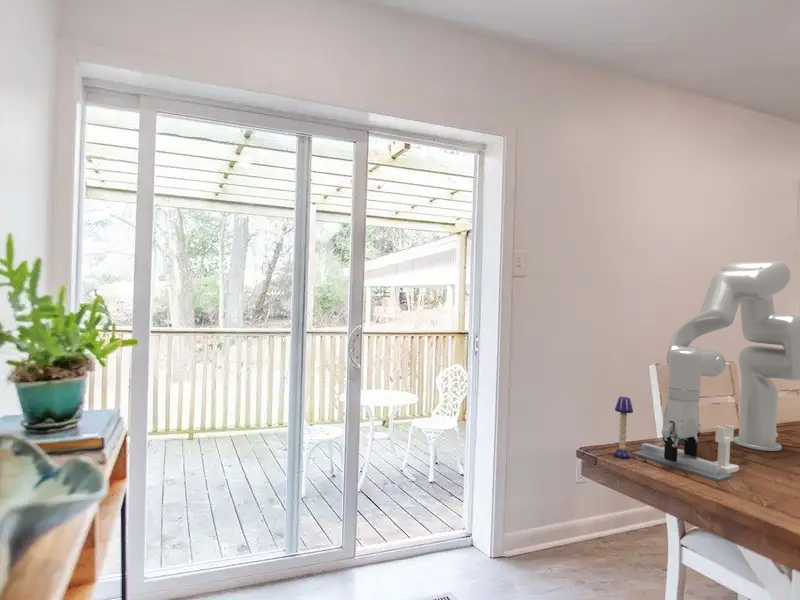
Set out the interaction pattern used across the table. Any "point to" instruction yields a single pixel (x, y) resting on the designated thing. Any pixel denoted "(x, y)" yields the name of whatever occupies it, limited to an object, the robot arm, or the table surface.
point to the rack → (723, 448)
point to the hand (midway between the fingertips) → (680, 458)
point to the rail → (684, 459)
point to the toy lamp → (623, 425)
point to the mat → (718, 477)
